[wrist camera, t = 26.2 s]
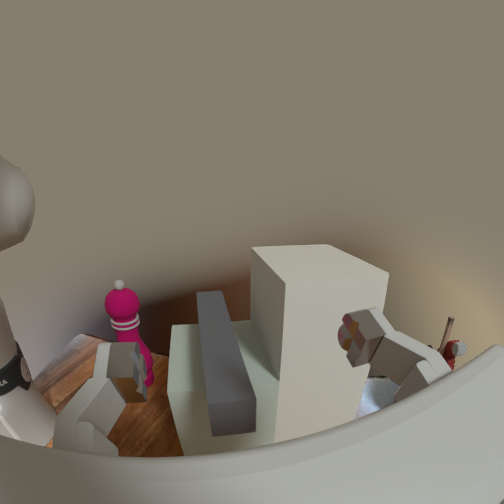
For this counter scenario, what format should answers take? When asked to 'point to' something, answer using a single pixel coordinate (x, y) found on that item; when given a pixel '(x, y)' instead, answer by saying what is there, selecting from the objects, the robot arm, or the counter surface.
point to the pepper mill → (127, 321)
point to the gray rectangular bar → (224, 370)
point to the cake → (450, 346)
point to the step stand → (283, 349)
